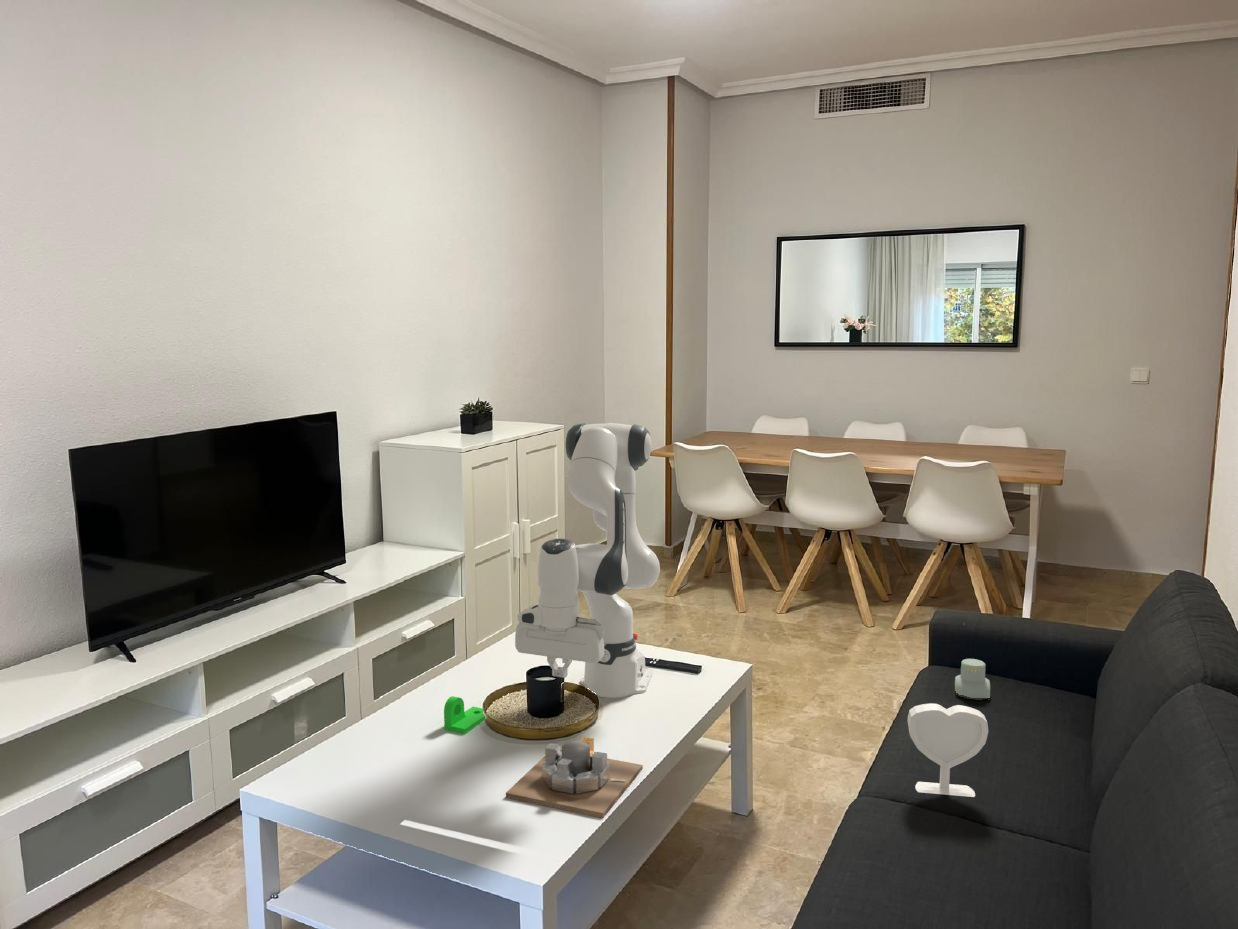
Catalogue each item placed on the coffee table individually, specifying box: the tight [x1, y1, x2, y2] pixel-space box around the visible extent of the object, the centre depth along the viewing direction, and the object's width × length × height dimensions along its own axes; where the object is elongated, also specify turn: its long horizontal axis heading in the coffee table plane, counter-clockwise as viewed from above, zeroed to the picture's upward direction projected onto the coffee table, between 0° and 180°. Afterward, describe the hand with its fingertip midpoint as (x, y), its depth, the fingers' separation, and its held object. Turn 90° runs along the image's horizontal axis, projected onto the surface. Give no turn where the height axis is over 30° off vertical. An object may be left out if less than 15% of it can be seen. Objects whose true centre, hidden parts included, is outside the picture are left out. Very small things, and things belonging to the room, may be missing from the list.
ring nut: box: [542, 736, 610, 794], centre depth 197 cm, size 14×14×6 cm
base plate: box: [505, 740, 644, 819], centre depth 197 cm, size 22×22×8 cm
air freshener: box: [954, 658, 991, 698], centre depth 240 cm, size 11×8×10 cm
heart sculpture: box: [906, 703, 989, 798], centre depth 193 cm, size 16×5×18 cm, turn 79°
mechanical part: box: [443, 695, 486, 735], centre depth 226 cm, size 12×6×8 cm, turn 154°
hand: (559, 676), depth 202 cm, fingers closed
